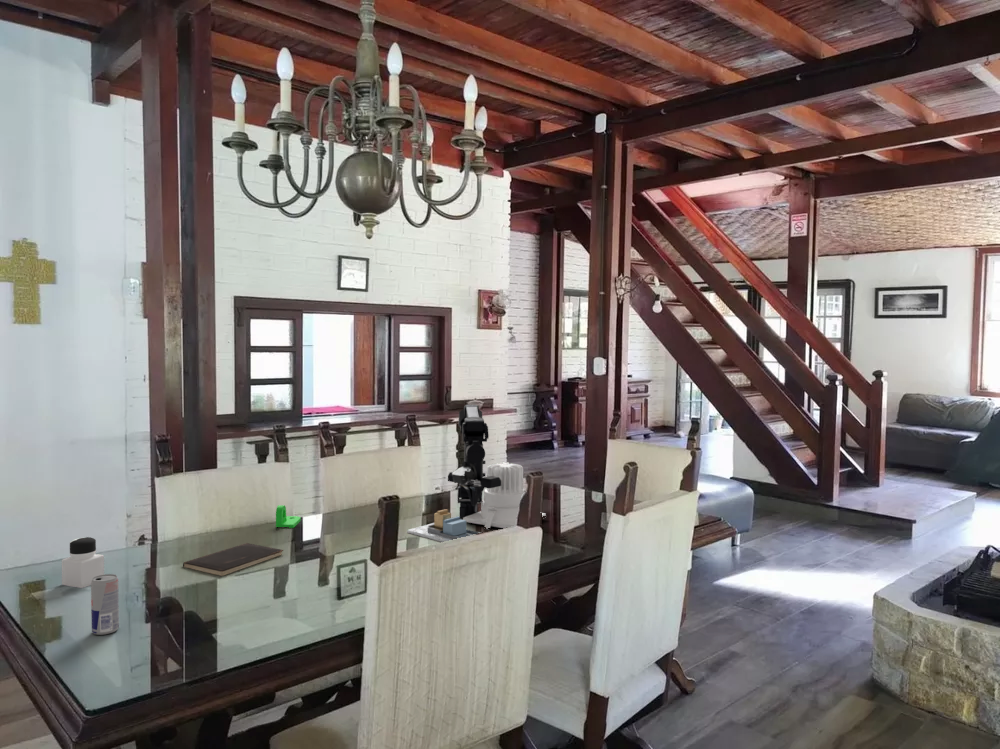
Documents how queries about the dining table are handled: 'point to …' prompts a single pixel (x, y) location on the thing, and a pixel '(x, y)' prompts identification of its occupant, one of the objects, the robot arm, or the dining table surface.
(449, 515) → the block
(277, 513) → the mechanical part
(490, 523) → the recessed light fixture
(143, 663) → the dining table surface
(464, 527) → the block
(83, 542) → the medicine bottle
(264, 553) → the hardcover book
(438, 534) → the seat jig
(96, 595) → the energy drink
